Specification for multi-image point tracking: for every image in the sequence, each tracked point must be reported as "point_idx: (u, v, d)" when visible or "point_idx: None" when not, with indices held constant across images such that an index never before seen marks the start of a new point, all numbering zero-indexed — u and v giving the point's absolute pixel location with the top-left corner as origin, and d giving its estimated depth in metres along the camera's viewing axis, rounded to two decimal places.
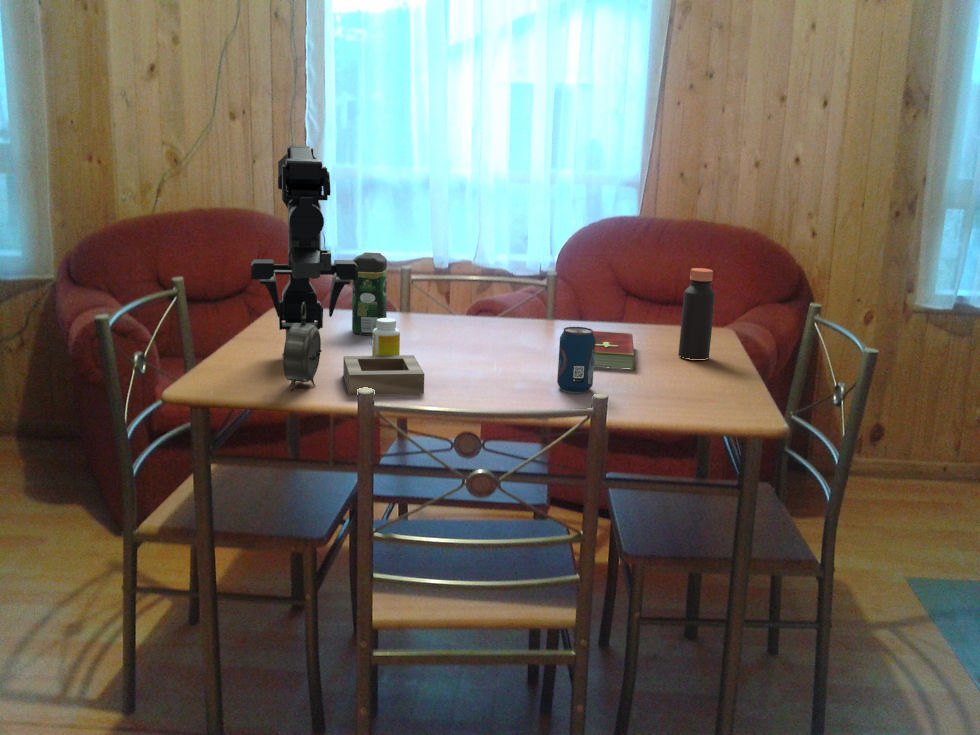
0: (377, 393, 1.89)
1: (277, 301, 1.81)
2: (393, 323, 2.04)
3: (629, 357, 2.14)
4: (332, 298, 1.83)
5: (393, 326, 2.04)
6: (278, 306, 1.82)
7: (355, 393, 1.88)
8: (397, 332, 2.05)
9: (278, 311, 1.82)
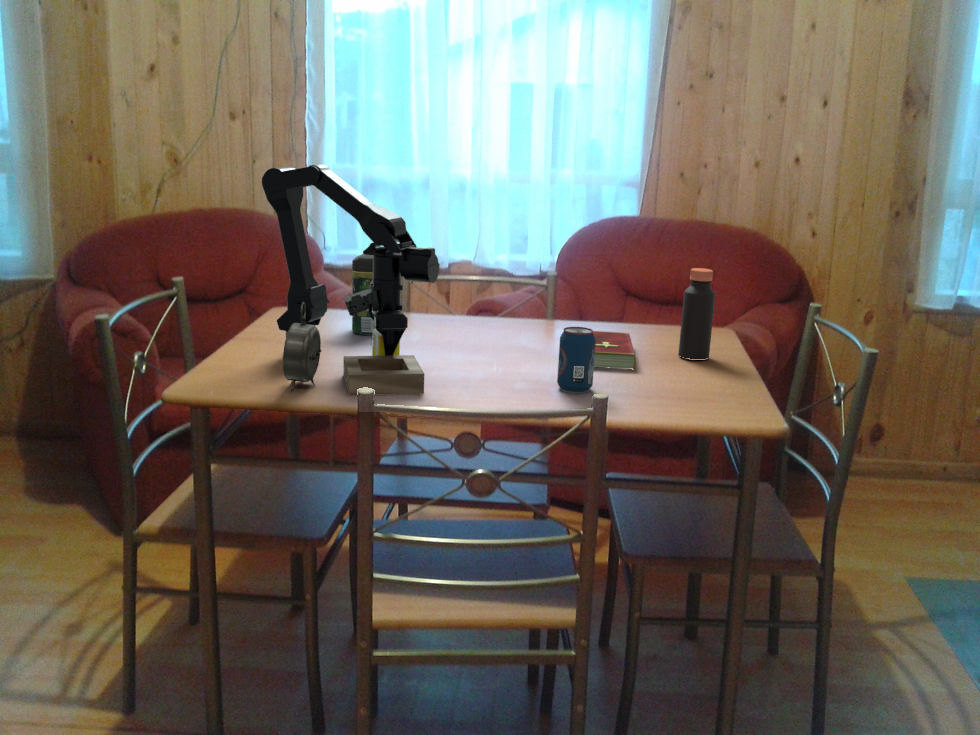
0: (377, 393, 1.89)
1: None
2: None
3: (630, 357, 2.15)
4: None
5: None
6: None
7: (355, 393, 1.88)
8: None
9: None
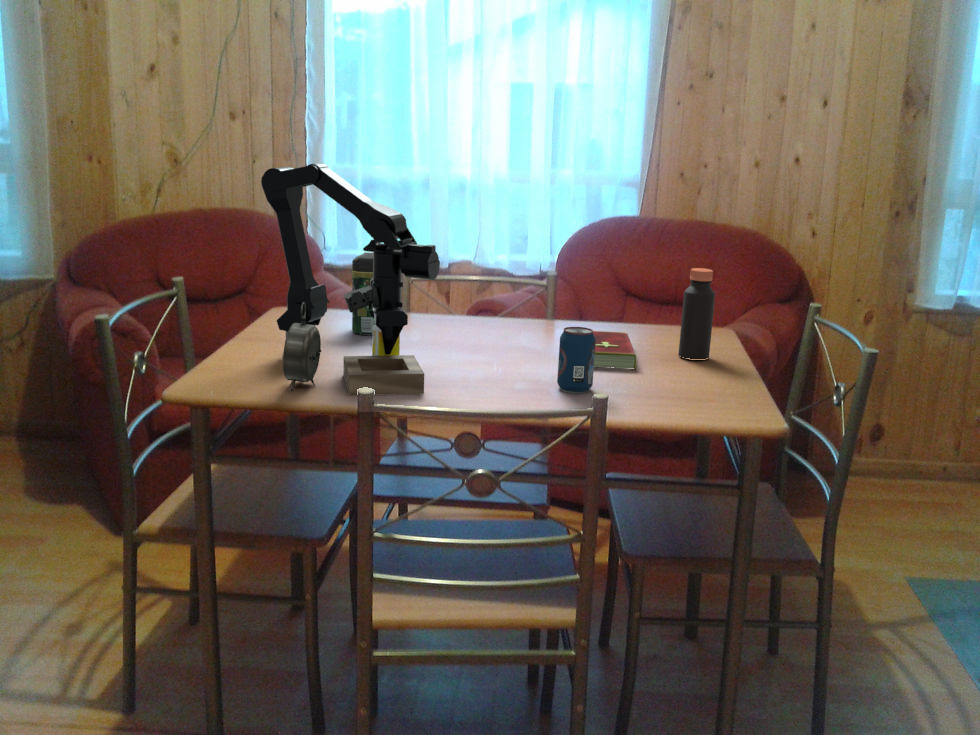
0: (377, 393, 1.89)
1: None
2: None
3: (631, 357, 2.15)
4: (382, 337, 2.03)
5: None
6: None
7: (355, 393, 1.88)
8: None
9: None
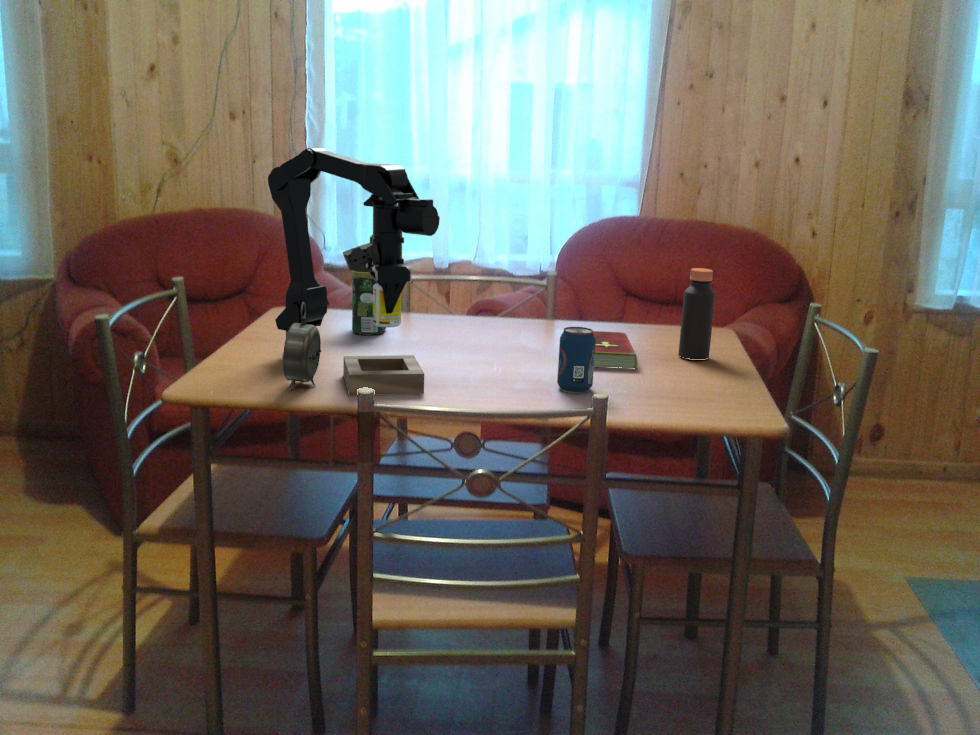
0: (377, 393, 1.89)
1: None
2: None
3: (631, 357, 2.15)
4: (383, 295, 1.95)
5: None
6: None
7: (355, 393, 1.88)
8: None
9: None
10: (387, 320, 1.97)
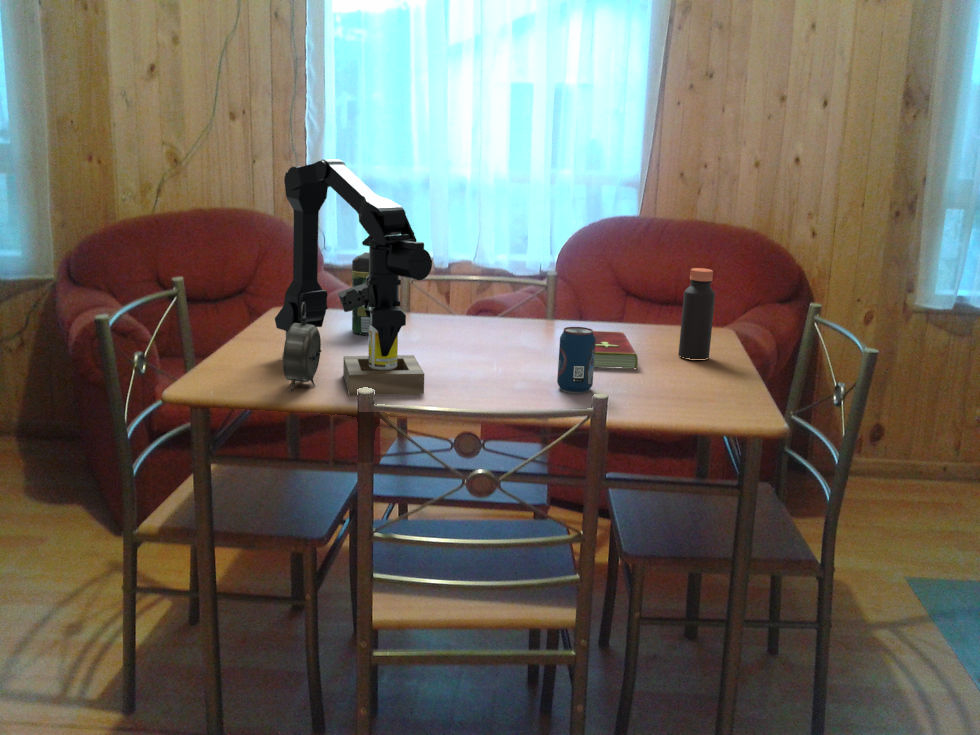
0: (377, 393, 1.89)
1: None
2: None
3: (632, 356, 2.15)
4: None
5: None
6: None
7: (355, 393, 1.88)
8: None
9: None
10: (383, 362, 1.92)
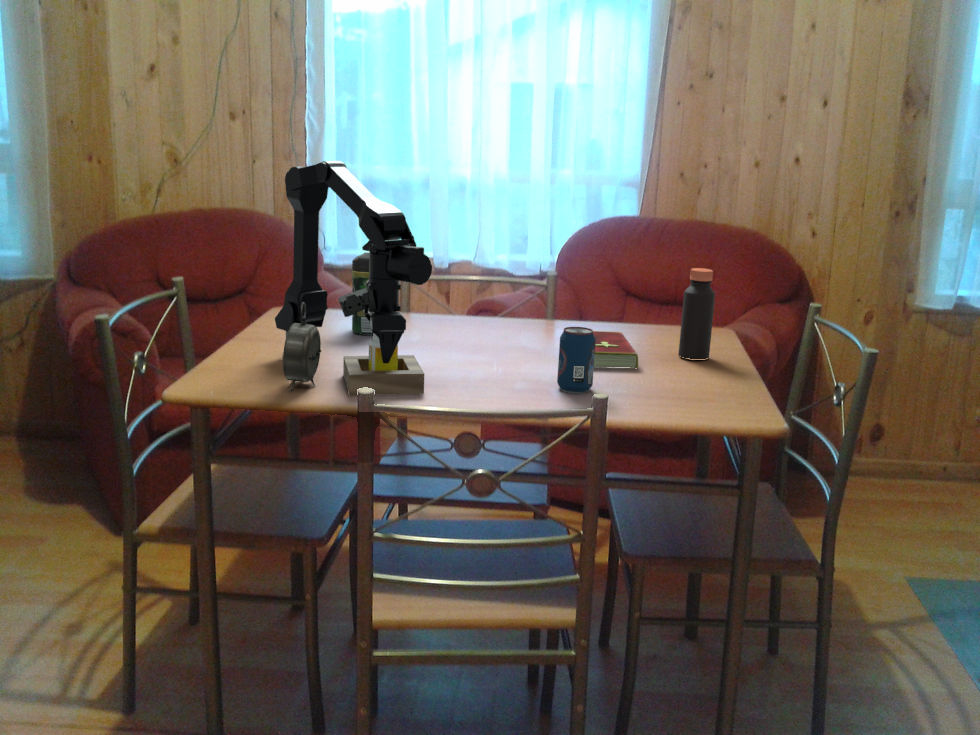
0: (377, 393, 1.89)
1: None
2: None
3: (632, 356, 2.15)
4: None
5: None
6: None
7: (355, 393, 1.88)
8: None
9: None
10: None
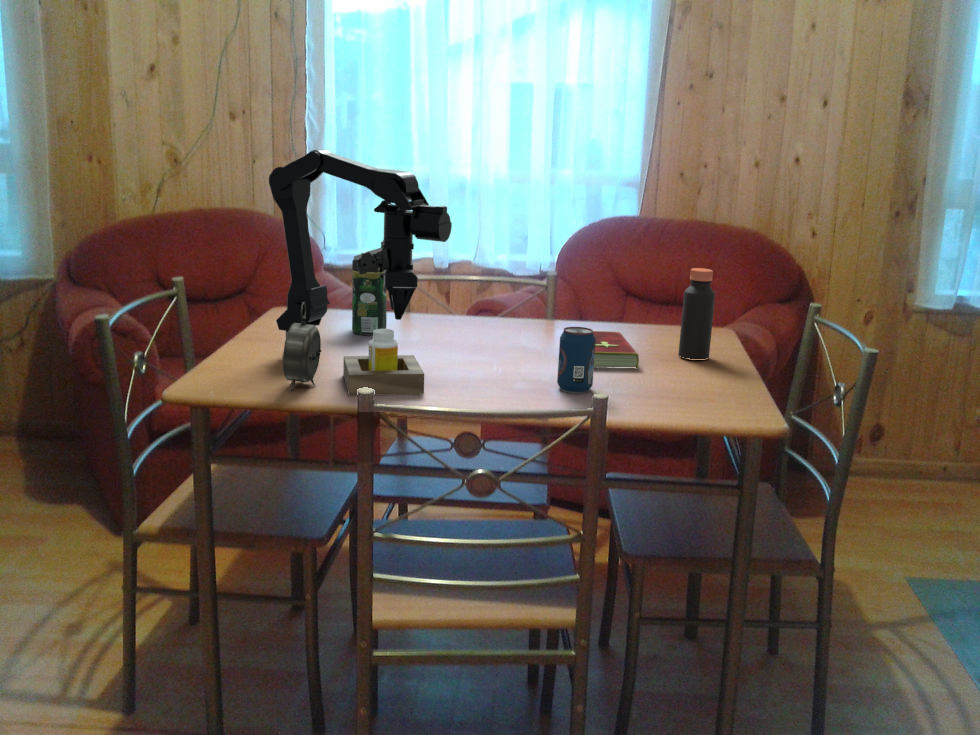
0: (377, 393, 1.89)
1: None
2: (390, 334, 1.92)
3: (633, 356, 2.15)
4: (392, 301, 1.97)
5: (391, 338, 1.93)
6: None
7: (355, 393, 1.88)
8: (395, 344, 1.93)
9: None
10: None
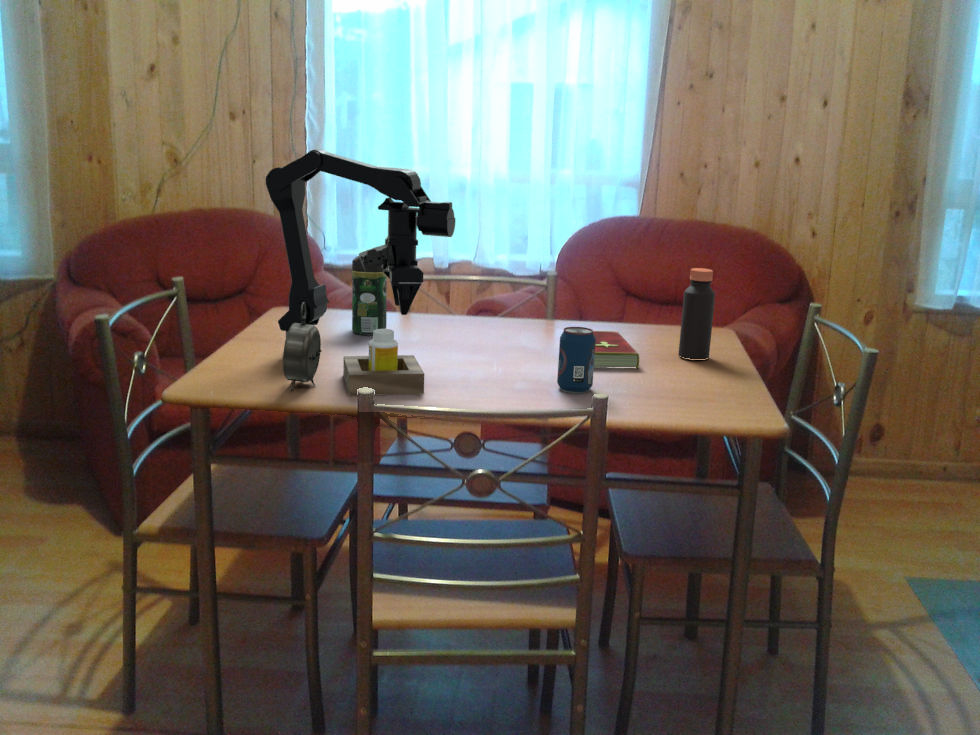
0: (377, 393, 1.89)
1: None
2: (390, 334, 1.92)
3: (633, 356, 2.16)
4: (398, 297, 2.01)
5: (391, 338, 1.93)
6: (393, 295, 2.10)
7: (355, 393, 1.88)
8: (395, 344, 1.93)
9: (394, 300, 2.10)
10: None
